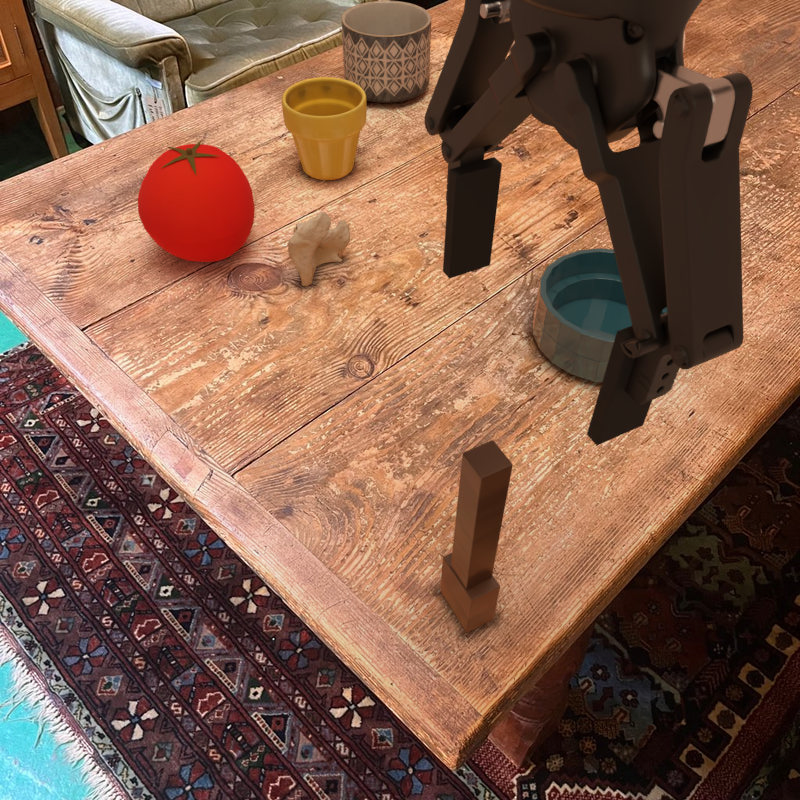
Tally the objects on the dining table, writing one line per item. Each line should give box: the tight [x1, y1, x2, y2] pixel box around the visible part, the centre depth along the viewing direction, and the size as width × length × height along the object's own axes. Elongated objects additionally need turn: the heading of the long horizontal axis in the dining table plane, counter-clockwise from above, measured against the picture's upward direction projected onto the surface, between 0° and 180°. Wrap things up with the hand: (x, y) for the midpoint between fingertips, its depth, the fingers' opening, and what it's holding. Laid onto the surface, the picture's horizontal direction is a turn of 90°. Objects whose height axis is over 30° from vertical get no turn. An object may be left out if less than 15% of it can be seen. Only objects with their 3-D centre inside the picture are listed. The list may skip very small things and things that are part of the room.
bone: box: [287, 211, 351, 287], centre depth 84 cm, size 9×6×10 cm
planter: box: [341, 0, 432, 104], centre depth 112 cm, size 13×13×10 cm
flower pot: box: [281, 76, 368, 181], centre depth 97 cm, size 10×10×10 cm
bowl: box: [532, 247, 667, 384], centre depth 77 cm, size 14×14×6 cm
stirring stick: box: [439, 439, 514, 634], centre depth 52 cm, size 4×2×18 cm, turn 28°
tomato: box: [137, 139, 256, 263], centre depth 84 cm, size 12×12×13 cm
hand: (533, 341), depth 40 cm, fingers open, 13 cm apart
